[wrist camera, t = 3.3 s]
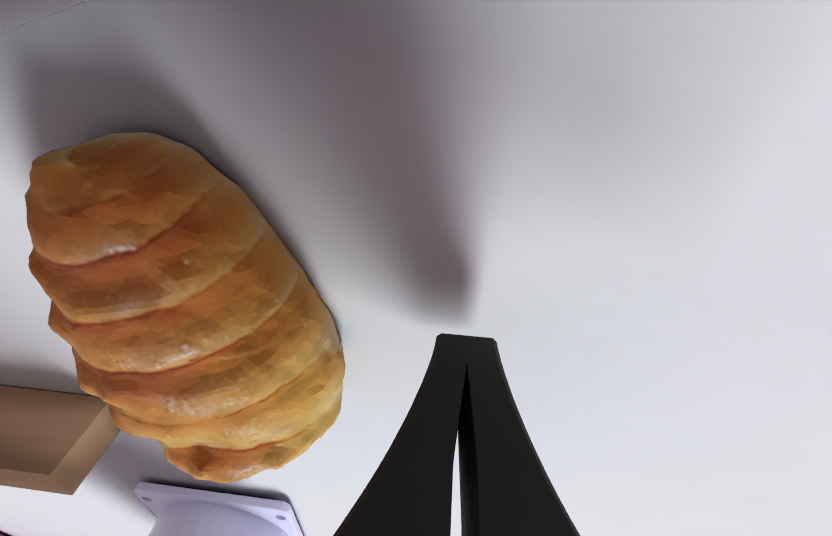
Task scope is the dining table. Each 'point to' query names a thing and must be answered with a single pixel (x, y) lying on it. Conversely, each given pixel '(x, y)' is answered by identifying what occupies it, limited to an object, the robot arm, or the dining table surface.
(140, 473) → the dining table surface
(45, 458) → the frame
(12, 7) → the grey flat bar
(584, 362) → the dining table surface
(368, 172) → the dining table surface
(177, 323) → the pastry
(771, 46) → the dining table surface
